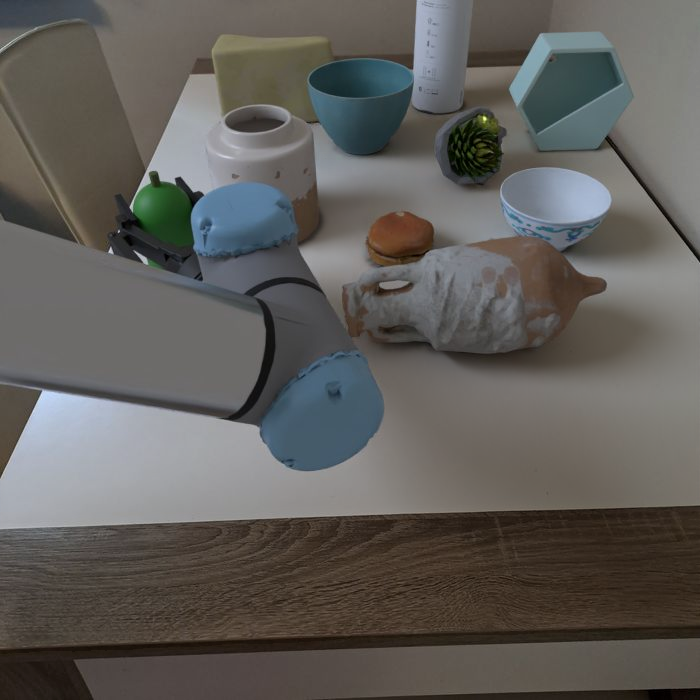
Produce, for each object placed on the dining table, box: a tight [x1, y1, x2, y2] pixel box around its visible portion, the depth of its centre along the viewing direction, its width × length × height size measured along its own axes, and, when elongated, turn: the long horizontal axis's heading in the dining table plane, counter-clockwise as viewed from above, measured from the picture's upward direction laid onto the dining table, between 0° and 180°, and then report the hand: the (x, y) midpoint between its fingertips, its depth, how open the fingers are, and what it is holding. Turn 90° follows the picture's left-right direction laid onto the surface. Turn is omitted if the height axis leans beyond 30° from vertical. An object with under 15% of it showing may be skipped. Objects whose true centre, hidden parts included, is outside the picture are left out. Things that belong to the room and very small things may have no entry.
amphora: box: [341, 236, 608, 354], centre depth 76 cm, size 14×16×30 cm
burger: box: [365, 210, 435, 267], centre depth 92 cm, size 10×9×5 cm
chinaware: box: [499, 166, 613, 252], centre depth 92 cm, size 15×15×8 cm
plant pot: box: [308, 57, 414, 155], centre depth 114 cm, size 18×18×12 cm
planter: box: [508, 30, 635, 152], centre depth 111 cm, size 17×8×21 cm
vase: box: [204, 104, 320, 244], centre depth 94 cm, size 15×15×17 cm
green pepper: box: [132, 170, 194, 269], centre depth 75 cm, size 7×7×13 cm
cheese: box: [211, 33, 335, 123], centre depth 122 cm, size 22×10×15 cm, turn 87°
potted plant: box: [433, 106, 508, 186], centre depth 104 cm, size 12×13×15 cm
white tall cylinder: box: [411, 0, 474, 115], centre depth 121 cm, size 11×10×26 cm
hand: (150, 196), depth 77 cm, fingers closed on green pepper, 7 cm apart
